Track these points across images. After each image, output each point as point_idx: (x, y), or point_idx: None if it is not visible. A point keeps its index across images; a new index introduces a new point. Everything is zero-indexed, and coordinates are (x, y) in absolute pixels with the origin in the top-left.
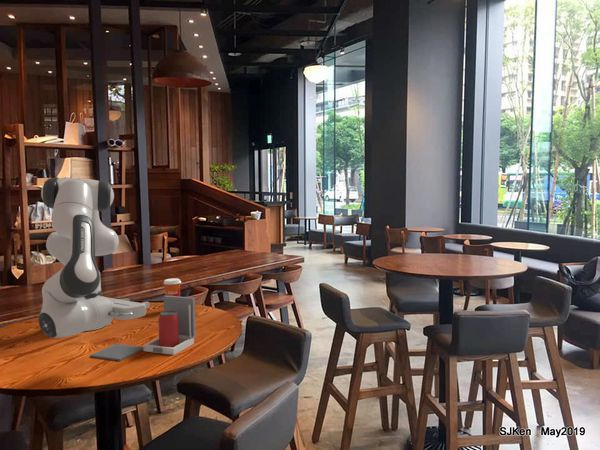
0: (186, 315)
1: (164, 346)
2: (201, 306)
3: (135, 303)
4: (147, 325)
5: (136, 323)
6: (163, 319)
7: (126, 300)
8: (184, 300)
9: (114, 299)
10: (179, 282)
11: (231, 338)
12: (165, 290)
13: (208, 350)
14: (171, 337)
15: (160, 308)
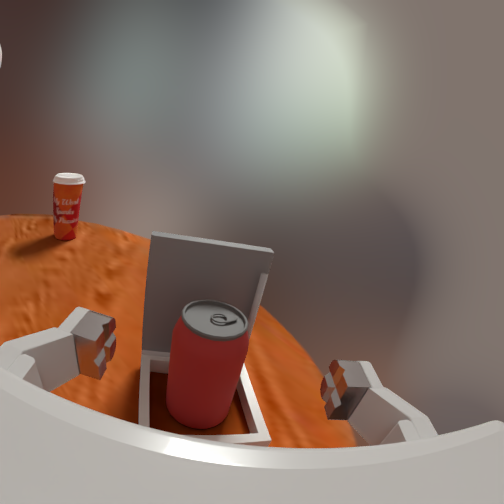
0: (234, 304)
1: (207, 424)
2: (106, 227)
3: (485, 462)
4: (42, 286)
5: (15, 278)
6: (221, 354)
7: (101, 342)
8: (239, 257)
9: (32, 428)
10: (83, 181)
11: (286, 331)
12: (56, 196)
13: (313, 394)
14: (231, 397)
15: (39, 229)
